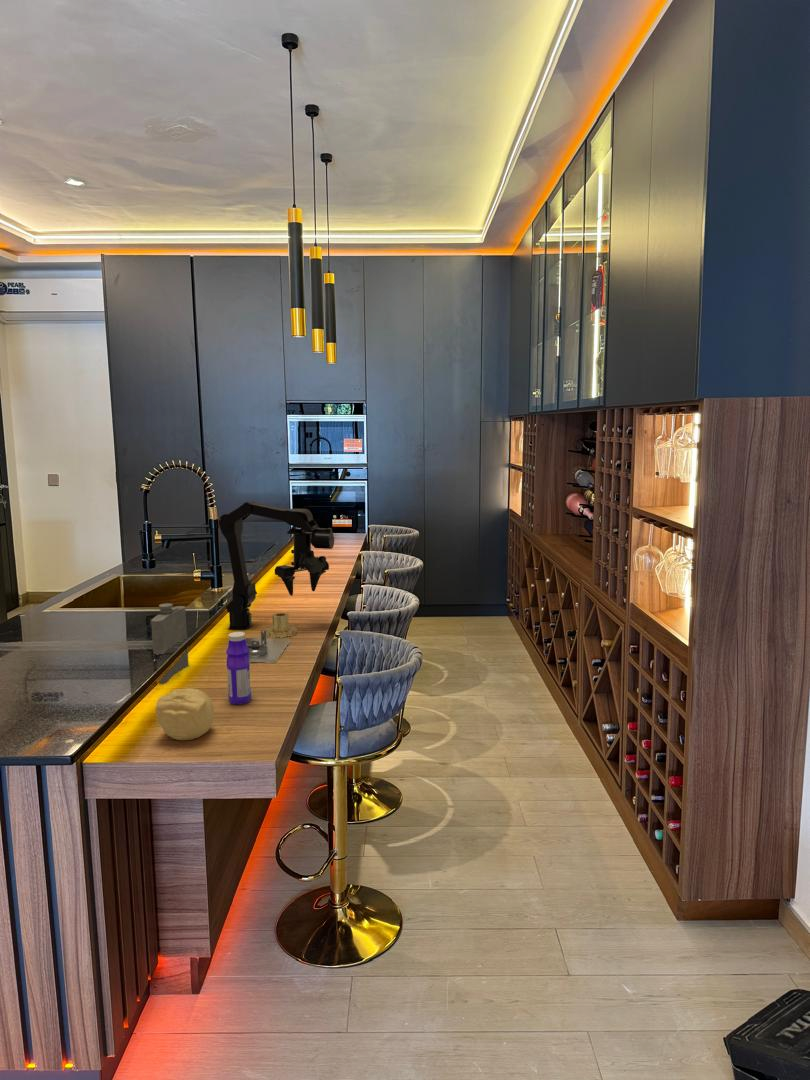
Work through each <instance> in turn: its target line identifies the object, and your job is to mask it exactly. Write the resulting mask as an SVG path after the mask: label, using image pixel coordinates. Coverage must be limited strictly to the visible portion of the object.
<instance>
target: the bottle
mask: <svg viewBox="0 0 810 1080" xmlns="http://www.w3.org/2000/svg"><path fill="white" fill-rule="evenodd" d="M225 650H226V651H225V653H226V655H227V656H226V668H227V691H228V692H227V696H228V700H229V702H230V703H231V704H233V705H241V704H242V705H244V704H247V703H249V702H250V701H251V698H252V689H251V688H252V687H251V673H250V672H251V671H250V670H251V669H250V668H251V667H250V664H251V663H250V660H249V655H248V652H249V648H248V647H247V644H246V633H245V632H243V631H234V632H231V633H229V634H228V645H227V649H225ZM243 703H244V704H243Z"/></svg>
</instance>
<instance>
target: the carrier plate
mask: <svg viewBox="0 0 810 1080" xmlns="http://www.w3.org/2000/svg"><path fill="white" fill-rule="evenodd" d="M245 639H246V644H247V647H248V648H249V652H248V655H249V660H250V662H267V663H266V664H276V662H277V661H278V660H279V658H280V657H281V655H282V654H283V653H282V652H285V650H286V649H287V648H288V646H289V644H290V643H291V638H272V637H267V635H266V631H265V630H260V637H247V638H246V637H245ZM287 645H288V646H287ZM285 648H286V649H285ZM284 649H285V650H284ZM279 656H280V657H279ZM277 659H278V660H277ZM276 660H277V661H276ZM268 662H269V663H268Z"/></svg>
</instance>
